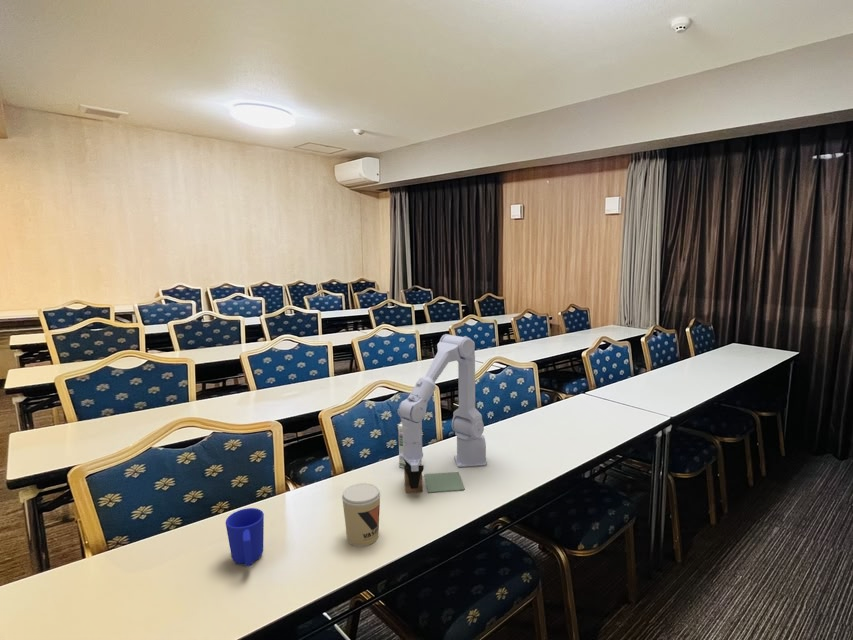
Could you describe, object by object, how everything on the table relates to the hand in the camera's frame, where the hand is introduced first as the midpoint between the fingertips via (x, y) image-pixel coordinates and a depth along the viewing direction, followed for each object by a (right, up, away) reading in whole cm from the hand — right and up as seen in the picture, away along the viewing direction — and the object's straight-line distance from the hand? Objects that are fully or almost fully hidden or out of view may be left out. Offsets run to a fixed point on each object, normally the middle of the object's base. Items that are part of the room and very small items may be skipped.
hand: (413, 483), depth 138 cm
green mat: (+9, -1, +3) cm, 10 cm away
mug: (-37, -7, -32) cm, 49 cm away
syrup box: (-1, 0, +15) cm, 15 cm away
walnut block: (0, -2, 0) cm, 2 cm away
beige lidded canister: (-12, -6, -23) cm, 26 cm away
